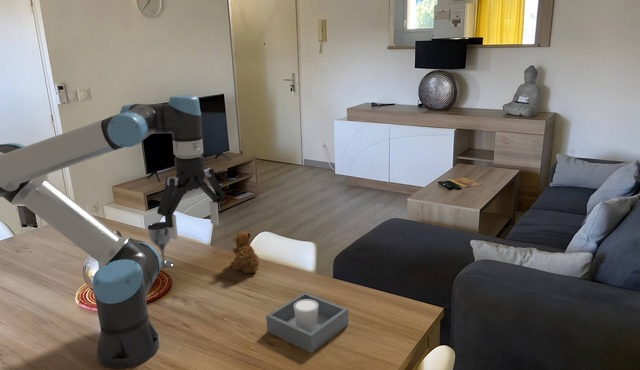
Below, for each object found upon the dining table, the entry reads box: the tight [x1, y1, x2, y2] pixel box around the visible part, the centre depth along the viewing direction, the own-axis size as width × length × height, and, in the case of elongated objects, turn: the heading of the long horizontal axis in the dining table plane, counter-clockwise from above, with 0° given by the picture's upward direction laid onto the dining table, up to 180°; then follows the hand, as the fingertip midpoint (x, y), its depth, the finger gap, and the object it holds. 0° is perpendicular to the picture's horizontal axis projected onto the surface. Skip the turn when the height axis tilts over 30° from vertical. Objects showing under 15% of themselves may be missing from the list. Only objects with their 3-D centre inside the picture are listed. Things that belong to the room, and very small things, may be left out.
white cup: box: [294, 299, 318, 333], centre depth 135 cm, size 7×7×7 cm
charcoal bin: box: [265, 291, 349, 354], centre depth 135 cm, size 16×16×5 cm
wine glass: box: [147, 221, 175, 269], centre depth 176 cm, size 8×8×15 cm
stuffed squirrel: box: [230, 231, 260, 274], centre depth 171 cm, size 10×14×13 cm
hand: (195, 230), depth 134 cm, fingers open, 13 cm apart
